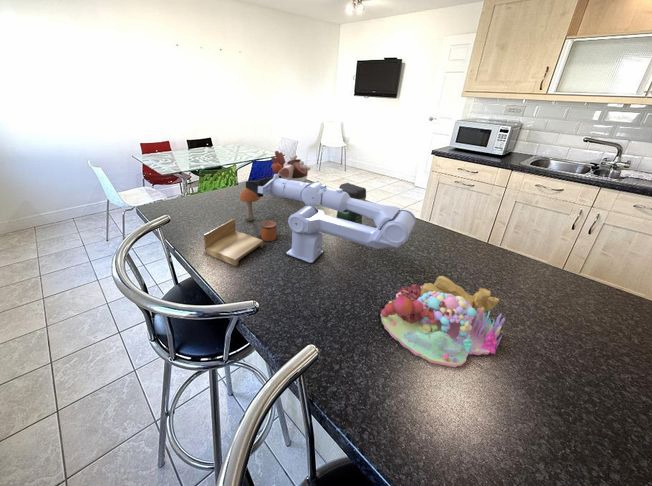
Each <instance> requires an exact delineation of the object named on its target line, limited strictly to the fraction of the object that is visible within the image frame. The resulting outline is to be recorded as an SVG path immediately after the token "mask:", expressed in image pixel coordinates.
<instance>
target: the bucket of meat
mask: <svg viewBox="0 0 652 486" xmlns="http://www.w3.org/2000/svg"><path fill="white" fill-rule="evenodd" d="M297 158H298V155H296V154H294V155H293V156H289V159H290V160H289V161H287V162H286V160H285V157H284V153H283V152H281V151H280V152H279V151H278V150H275V151H274V156H271V159H270V160H271V161H272V163H271V169H272V171H273V173H274V174H279V175H281V179H287V180H294V181H300V182H305V183H307V179H308V171H311V170H312V167H310V166H309V165H307V164H305V162H304V160H302V159H299V158H298V159H297Z"/></svg>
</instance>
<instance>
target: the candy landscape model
mask: <svg viewBox="0 0 652 486" xmlns="http://www.w3.org/2000/svg"><path fill="white" fill-rule="evenodd" d="M491 294H492V293H491V291H490V290H488V289H487V288H483V287H480V288H479V289H478V291H476V292H475V293H474V294H473V295H472V294H469V293H467V291H465V289H464V288H463V287H461V286H459V285H457V284H456V283H454V282H453V281H452V280H451V279H449V278H448V277H446V276H445V275H438V276H437V278H436V280H435V282H434V283H431V282H428V283H427V282H425V283H424V284H423V285H421V286H420V285H418V284H412V285H411V286H405V287H400V288H398V291H397V293H396V295H395V298H394V299H393V300H388V302H387V303H386V304H385V305H384V308H382V309H381V311H380V320H381V324H382V325H383V328H384V330H386V332H388V333H389V335H390V336H391V337H392V338H393V339H394V341H396V342H399V343H400V345H401V346H402V347H403V348H404V349H407V350H409V351H410V352H411V353H412V354H413V355H415V356H416V357H420V358H422V360H426V361H428V362H429V363H431V364H435V365H441V366H447V367H452V368H457V367H462V366H463V365H464V364H465V363H466V362H467V358H468V356H471V355H475V356H481V355H486V356H488V355H489V354H491V355H495V354H496V353H497V351H496V350H497V348H498V346H500V342H501V340H502V338H503V337H502V336H503V333H502V334H501V329H502V327H503V325H504V323H505V321H506V317H505V316H504V317H503V318H502V319H501V317H502V315H503V314H502V313H503V312H500V314H498V316H497V317H496V320H495V319H493V321H492V320H491V317H489V316H490V313H491V310H493V309H494V308H495V307H496V306H497V304H498V303H499V302H500V299H499V298H498V297H495V296H491ZM487 312H488V313H487ZM500 320H501V321H500ZM500 334H501V335H500Z"/></svg>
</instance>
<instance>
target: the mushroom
mask: <svg viewBox="0 0 652 486" xmlns="http://www.w3.org/2000/svg"><path fill="white" fill-rule="evenodd" d="M238 199H239V200H240V201H242V202H245V203H246V219H247V221H248V222H252V221H254V218H255V215H254V209H253V202H255V203H256V202H258V201H259V200H260V199H261V197H258V196H257V195H256V194H255V193H254V192H253V191H251V190H249V189H247V188H246V186H245V187H244V188H243V189H242V190H241V192H240V193H239V196H238Z"/></svg>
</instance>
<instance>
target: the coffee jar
mask: <svg viewBox="0 0 652 486" xmlns="http://www.w3.org/2000/svg"><path fill="white" fill-rule="evenodd" d="M338 188H340V189H343V192H347V193H348V195H349V196H350V198H354V199H358V200H363V201H366V199H367V189H366V188H365V187H362V186H358V185H355V184H353V183H350V182H344V183H341V184H340V185H339V187H338ZM336 218H339V219H343V220H347V221H351V222H355V223H358V224H362V225H363V215H361V214H358V213H355V212H352V211H350V210H347V209H346V210H344V211H342V212H339V211H336Z"/></svg>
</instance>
